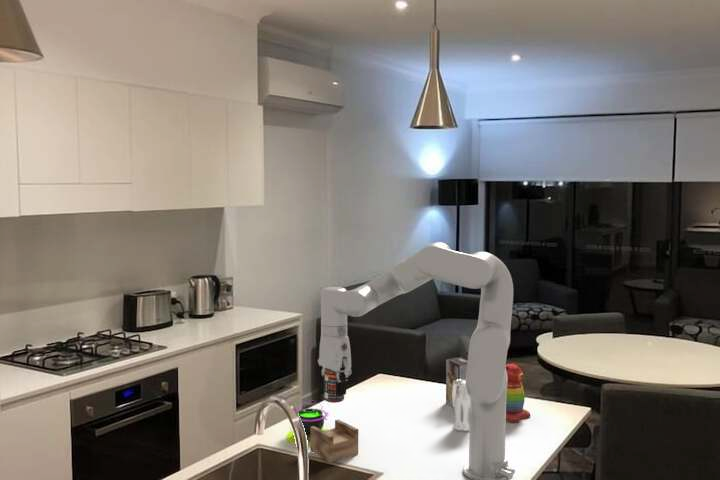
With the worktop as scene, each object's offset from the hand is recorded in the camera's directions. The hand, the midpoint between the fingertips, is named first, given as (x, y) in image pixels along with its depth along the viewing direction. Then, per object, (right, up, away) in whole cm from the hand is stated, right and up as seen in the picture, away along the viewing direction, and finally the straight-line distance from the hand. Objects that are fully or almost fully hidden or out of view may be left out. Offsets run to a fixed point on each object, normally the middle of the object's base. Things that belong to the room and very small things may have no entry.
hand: (334, 391), depth 191 cm
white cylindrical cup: (+40, -17, +21) cm, 49 cm away
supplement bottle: (0, -3, 0) cm, 3 cm away
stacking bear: (+58, -16, +32) cm, 68 cm away
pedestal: (0, -18, +2) cm, 18 cm away
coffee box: (+43, -15, +43) cm, 62 cm away
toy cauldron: (-8, -17, +14) cm, 24 cm away
